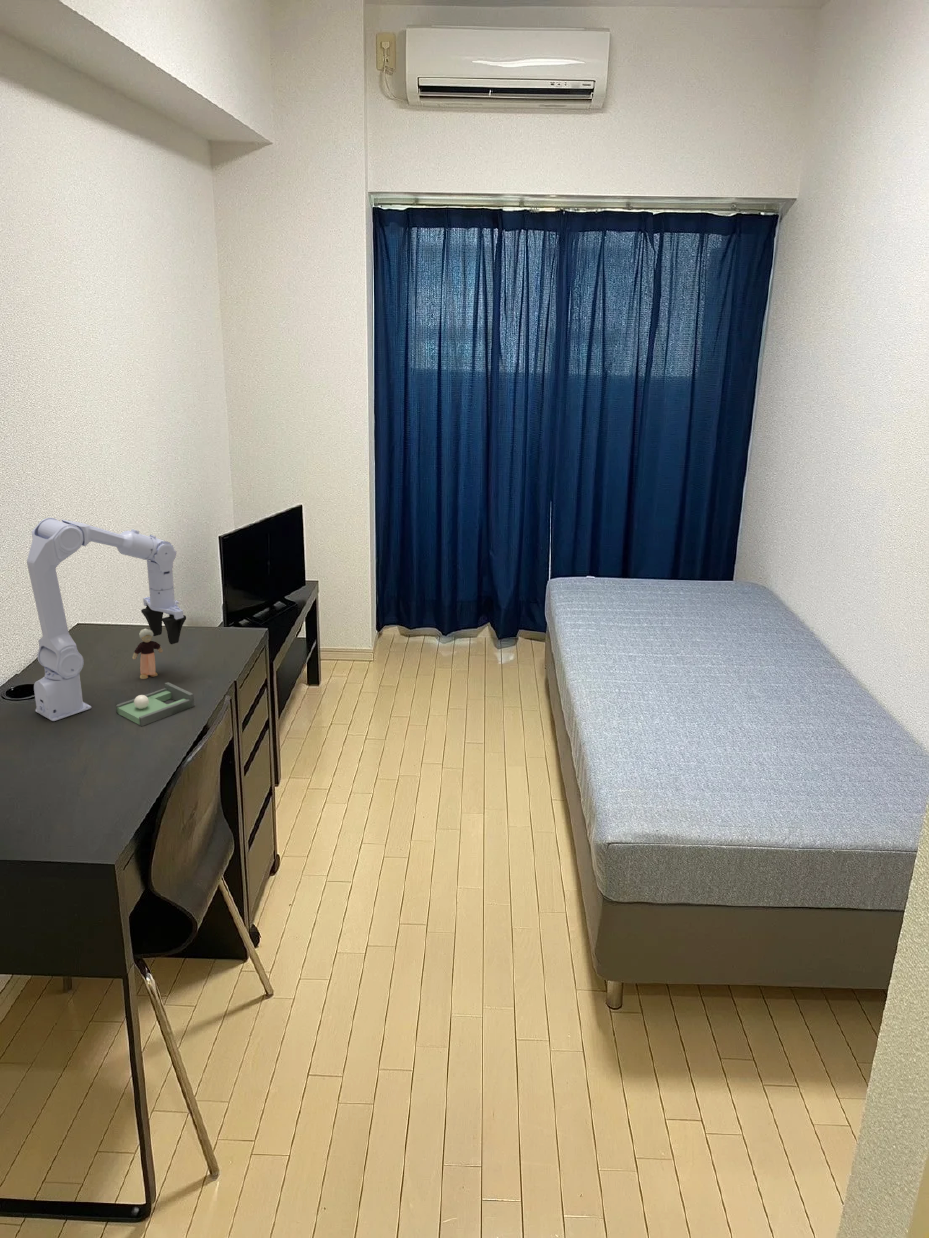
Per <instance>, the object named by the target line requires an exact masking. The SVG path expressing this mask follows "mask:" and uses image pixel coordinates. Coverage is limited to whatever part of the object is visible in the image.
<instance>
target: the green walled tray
mask: <svg viewBox="0 0 929 1238" xmlns="http://www.w3.org/2000/svg"><path fill="white" fill-rule="evenodd" d="M144 695H145V696H146V697H147V698H148V700H149V704H148V706H147V707H146V708H144V709H139V708H137V707H136V706H135V704H134V700H135V698H133V699H129V700H127V701H123V702H120V703H118V704H115V710H116V714H118V715H119V716H121V717H124V718H125V719H127V720H129V721H131V722H133V723H135V724H137V725H139V726H141V727H144V726H146V725H149V724H152V723H154V722H156V721H160V720H163V719H164V718H169V717H171V716H172V715H175V714H178V713H181V712H183V711H187V710H188V709H191V708H194V707H195V697H194V693H192V692H191V691H188V690H186V689H184V688H182V687H179V686H177V685H175V684H173V683H171V682H169V681H168V682H164V688H161V689H158V690H156V691H153V692H149V693H146V694H144ZM169 700H174V702H173V701H172V702H170V703H165V701H169Z"/></svg>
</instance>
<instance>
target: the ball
mask: <svg viewBox="0 0 929 1238" xmlns="http://www.w3.org/2000/svg"><path fill="white" fill-rule="evenodd" d="M145 695H146V694H139V695H137V696H135V698H134V699H135V700H134V704H135V706H136V707H137V708H139V709H144V708H146V707H147V706H148V704H149V700H148V698H147V697H146V696H145Z"/></svg>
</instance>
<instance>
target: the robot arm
mask: <svg viewBox="0 0 929 1238" xmlns="http://www.w3.org/2000/svg"><path fill="white" fill-rule="evenodd" d="M31 537H32V541H31V544H30V547H29V551H28V555H27V558H26V564H27V569H28V574H29V575H28V576H29V579H30V583H31V588H32V594H33V597H34V602H35V606H36V611H37V616H38V620H39V626H40V629H41V634H42V636H41V638H39V639H38V646H39V647H38V652H37V660H38V664H40V665H41V666H42V667H44V668H43V669H44V676H43V677H42V678H40V679H39V680H36V681H35V682H34V684H33V691H34V692H33V693H34V699H35V707H36V708H35V712H36V713H38V714H40V715H41V716H42V717H45V718H47V719H48V720H50V721H51V722H55V721H58V720H61V719H64V718H67V717H71V716H73V715H76V714H78V713H81V712H84V711H87V710H91V709H92V705H89V704H88V703H87V702H84V701H83V692H82V683H81V676H80V675H81V674H80V673H81V671H82V669H83V668H84V662H85V661H84V656H83V655H82V654H81V653H80V652H79V650H78V647H77V643H76V642H75V641H74V639H73V638H72V635H70V633H69V632H70V631H69V628H68V622H67V618H66V613H65V609H64V603H63V598H62V594H61V589H60V585H59V579H58V575H57V567H58V566H59V565H60V564H61V563H62V562H63V561H65V560H66V559H68V558H69V557H71V556H72V555H73V554H75V553H76V552H77V551H78V550H79V549H80V548H81V547H86V546H88V545H89V544H90V542H91V543H97V544H102V545H106V546H111V547H114V548H115V547H116V549H117V551H118V553H119V554H121V555H124V556H128V557H132V558H136V559H141V560H145V561H146V566H147V567H146V568H147V569H146V570H147V578H148V580H147V581H148V589H149V596H147V597H146V596H145V597H143V598H142V601H143V606H144V607H145V608H142V609H141V613H142V614H143V616H144V618H145V619H146V621H147V624H148V626H149V630H151V631H152V632H153V637H157V636H160V635H162V633H163V625H164V626H165V629H166V634H167V639H168V642H169V644H170V645H174V644H178V643H179V641H180V636H181V633H182V628H183V626H184V623H185V622H186V620H187V616H186V615H184V610H183V609H181V608H180V607H179V606H178V605H179V603H180V601H178V600H177V599H175V587H174V586H175V585H174V573H173V568H174V562H175V559H176V556H177V550H175V547H174V545H173V544H172V543H171V542H170V541H167V540H163V539H160V538H158V537H157V536H156V535H153V534H150V535H146V534H142V533H140V531H139V530H138V529H135V528H134V529H133V528H131V529H130V530H129V529H128V530H123V531H122V532H121V533H117V532H114V531H110V530H109V529H108V530H107V529H104V528H101V527H98V526H93V525H91V524H88V523H83V522H80V521H74V520H67V519H60V520H59V519H57V518H55V517H46V518H44V519H42V520H40V521H39V522H38V523H37V525H36V526H35V527H34V528H33V529H32V531H31ZM164 614H166V615H168V616H165V617H163V616H164Z"/></svg>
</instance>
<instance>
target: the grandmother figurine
mask: <svg viewBox="0 0 929 1238" xmlns="http://www.w3.org/2000/svg"><path fill="white" fill-rule="evenodd" d="M153 637H154V636H153V632H152V631H151V630H150V628H143V629H140V631H139V638H140V639H141V641H142V642H141V641H140V643H139V644H138V645H137V647H136V648H135V650H134V651H133V654H132V659H133V660H134V661H135V660H137V658H138V656H139V654H140V661H139V664H140V665H139V670H140V675H139V679H140V680H146V679H148V678H149V677H153V678H155V677H157V676H158V675H159V674H158V673H157V672H156V657H155V651H154V650H157V651H158V653H159V654H161V653H163V651H164V650H163V648H162V646H161V644H160V643H158V642H157V641H154V640H153ZM133 660H132V661H133Z"/></svg>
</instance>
